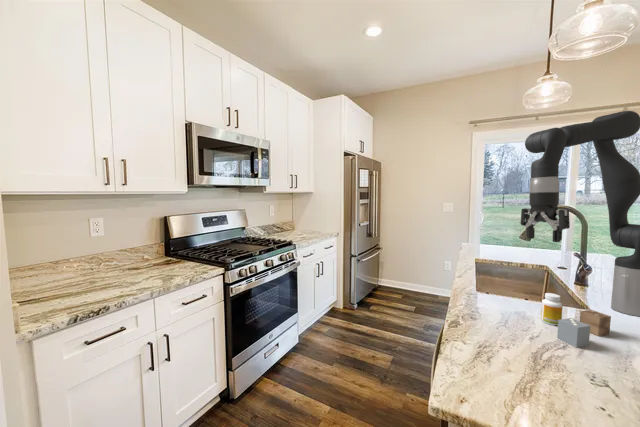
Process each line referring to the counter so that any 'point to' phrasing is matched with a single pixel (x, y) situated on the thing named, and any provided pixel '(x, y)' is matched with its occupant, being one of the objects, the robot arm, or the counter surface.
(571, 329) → the slate three pip block
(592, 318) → the walnut two pip block
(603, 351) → the counter surface
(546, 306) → the supplement bottle
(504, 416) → the counter surface
